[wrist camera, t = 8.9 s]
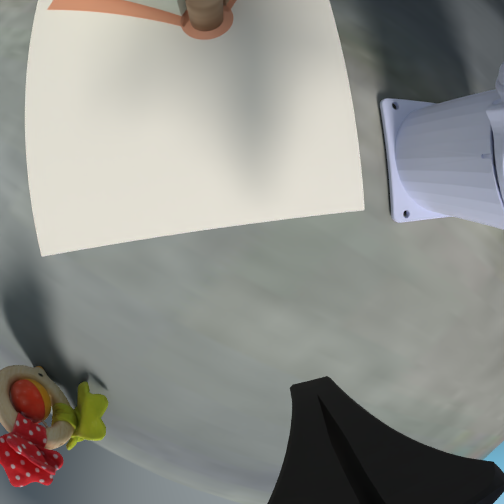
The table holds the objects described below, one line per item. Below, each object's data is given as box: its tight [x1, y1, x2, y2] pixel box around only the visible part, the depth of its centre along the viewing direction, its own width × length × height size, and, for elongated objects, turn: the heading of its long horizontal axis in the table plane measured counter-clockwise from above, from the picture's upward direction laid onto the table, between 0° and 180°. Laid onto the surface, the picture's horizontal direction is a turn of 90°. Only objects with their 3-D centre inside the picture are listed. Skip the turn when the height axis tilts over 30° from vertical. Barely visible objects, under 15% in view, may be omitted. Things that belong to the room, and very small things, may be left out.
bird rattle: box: [0, 365, 108, 487], centre depth 15 cm, size 6×11×9 cm
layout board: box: [25, 0, 365, 257], centre depth 14 cm, size 21×26×1 cm
